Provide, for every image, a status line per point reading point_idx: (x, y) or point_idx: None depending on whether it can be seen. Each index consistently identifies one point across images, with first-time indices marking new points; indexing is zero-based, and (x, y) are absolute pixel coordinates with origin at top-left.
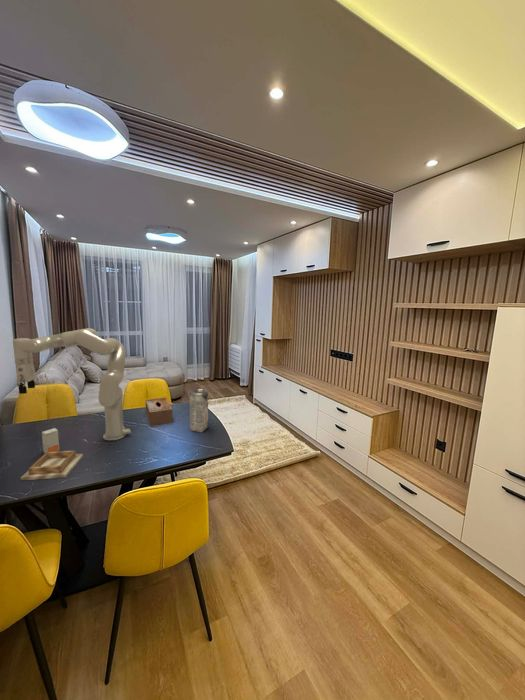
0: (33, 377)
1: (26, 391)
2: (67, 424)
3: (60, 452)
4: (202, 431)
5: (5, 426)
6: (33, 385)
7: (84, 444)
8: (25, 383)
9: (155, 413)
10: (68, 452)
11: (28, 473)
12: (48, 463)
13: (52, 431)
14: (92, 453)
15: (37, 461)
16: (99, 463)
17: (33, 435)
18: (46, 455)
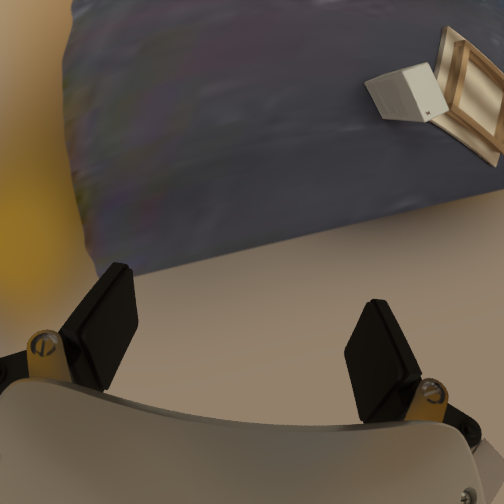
0: (147, 458)
1: (386, 311)
2: (130, 83)
3: (465, 75)
4: None
5: None
6: (116, 294)
7: (366, 5)
8: (414, 418)
9: None
10: (468, 57)
11: (489, 152)
12: (469, 108)
13: (436, 83)
14: (433, 4)
15: (486, 135)
16: (480, 13)
17: (201, 179)
18: (461, 111)
